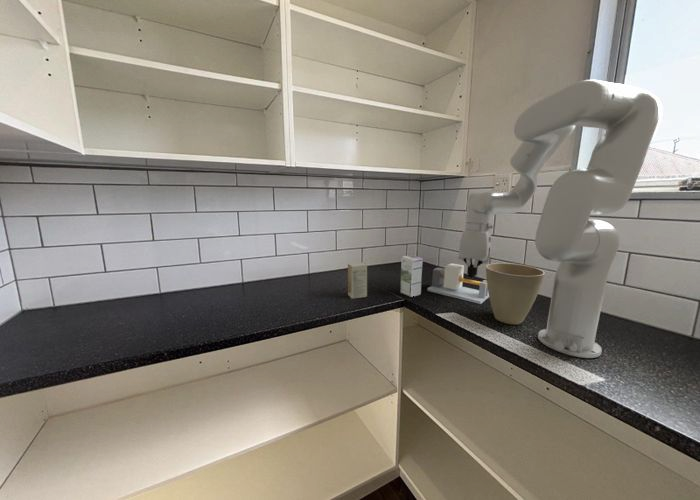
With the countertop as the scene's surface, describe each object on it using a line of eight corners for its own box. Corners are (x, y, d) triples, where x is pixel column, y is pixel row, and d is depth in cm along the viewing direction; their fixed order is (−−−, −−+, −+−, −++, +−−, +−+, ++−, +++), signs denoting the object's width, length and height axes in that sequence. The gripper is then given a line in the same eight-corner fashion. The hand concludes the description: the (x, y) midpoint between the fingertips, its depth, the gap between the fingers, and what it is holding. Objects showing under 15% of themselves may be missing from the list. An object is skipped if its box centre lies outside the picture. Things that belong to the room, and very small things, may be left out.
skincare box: (363, 293, 105) (363, 262, 102) (367, 297, 101) (368, 264, 98) (347, 294, 103) (347, 263, 100) (350, 299, 99) (351, 266, 96)
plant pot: (490, 305, 94) (495, 260, 91) (542, 319, 84) (549, 269, 81) (472, 318, 84) (478, 268, 81) (529, 336, 73) (537, 279, 70)
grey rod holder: (486, 305, 94) (489, 283, 93) (427, 290, 109) (428, 271, 107) (496, 296, 103) (499, 276, 101) (440, 284, 117) (441, 265, 116)
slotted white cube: (456, 290, 104) (458, 268, 102) (443, 287, 107) (445, 265, 105) (462, 286, 108) (464, 265, 106) (449, 283, 111) (451, 263, 110)
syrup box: (421, 294, 104) (423, 257, 101) (410, 297, 101) (412, 259, 98) (410, 290, 109) (412, 254, 106) (399, 293, 105) (401, 256, 103)
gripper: (502, 228, 96) (496, 278, 100) (459, 225, 106) (455, 271, 110) (496, 230, 91) (490, 283, 94) (451, 226, 101) (448, 274, 104)
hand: (471, 276), depth 102 cm, fingers closed
